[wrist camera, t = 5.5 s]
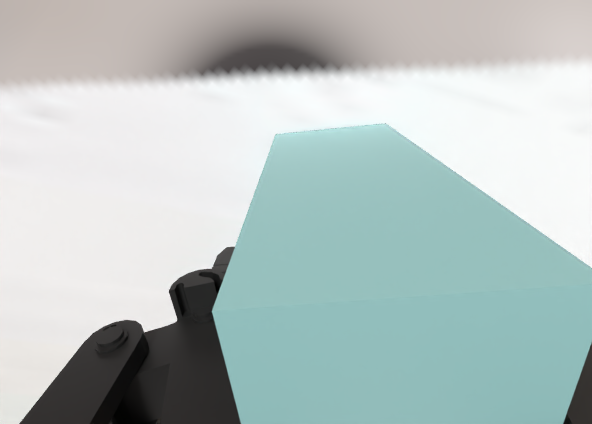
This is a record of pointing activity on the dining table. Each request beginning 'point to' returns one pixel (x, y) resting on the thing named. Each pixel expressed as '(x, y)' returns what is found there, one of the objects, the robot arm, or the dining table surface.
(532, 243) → the block
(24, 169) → the dining table surface
